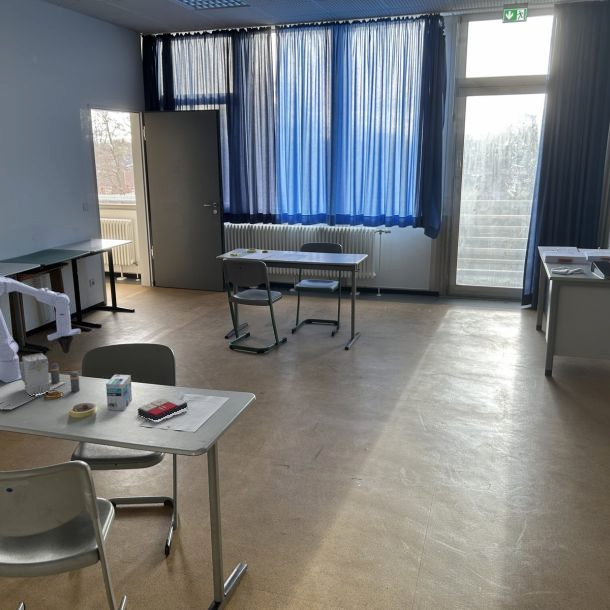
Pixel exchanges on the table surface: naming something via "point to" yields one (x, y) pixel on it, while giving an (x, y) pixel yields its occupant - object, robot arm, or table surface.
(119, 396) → the light bulb box
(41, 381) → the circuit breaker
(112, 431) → the table surface
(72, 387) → the post
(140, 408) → the red black flat box
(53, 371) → the left cable post
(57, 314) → the robot arm
